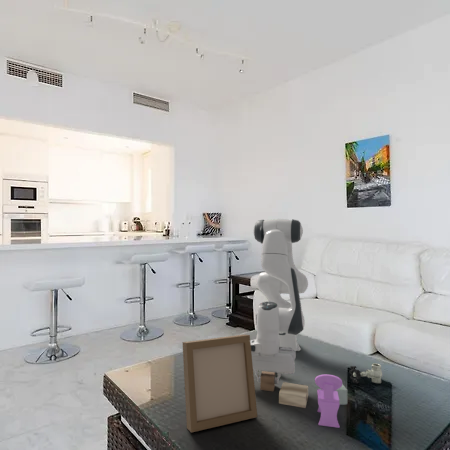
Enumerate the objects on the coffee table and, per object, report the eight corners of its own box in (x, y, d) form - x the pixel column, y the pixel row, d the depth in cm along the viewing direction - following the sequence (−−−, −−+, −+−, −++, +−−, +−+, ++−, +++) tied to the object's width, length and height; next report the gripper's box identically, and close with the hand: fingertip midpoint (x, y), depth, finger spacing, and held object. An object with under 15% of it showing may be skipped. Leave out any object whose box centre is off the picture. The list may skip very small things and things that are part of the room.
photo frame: (257, 420, 108) (258, 340, 108) (191, 436, 99) (192, 348, 100) (237, 398, 121) (237, 327, 122) (177, 411, 113) (178, 334, 113)
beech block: (283, 392, 127) (283, 381, 127) (308, 397, 124) (308, 385, 124) (278, 404, 118) (279, 392, 118) (305, 409, 115) (305, 397, 115)
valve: (376, 377, 140) (349, 379, 138) (376, 361, 141) (349, 363, 139) (386, 384, 134) (358, 386, 132) (386, 367, 134) (358, 369, 132)
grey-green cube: (328, 397, 123) (328, 383, 123) (342, 397, 123) (342, 383, 123) (332, 404, 118) (333, 390, 118) (347, 404, 118) (347, 390, 118)
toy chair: (340, 413, 112) (340, 367, 113) (343, 428, 104) (343, 378, 104) (314, 410, 114) (314, 364, 114) (314, 424, 106) (315, 375, 106)
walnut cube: (262, 384, 133) (262, 371, 133) (274, 385, 132) (275, 372, 132) (260, 389, 128) (260, 376, 128) (273, 391, 127) (273, 377, 127)
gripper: (296, 345, 131) (295, 382, 131) (243, 341, 136) (243, 376, 136) (295, 351, 125) (295, 389, 125) (240, 346, 130) (240, 383, 130)
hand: (267, 382), depth 130 cm, fingers closed on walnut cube, 5 cm apart
